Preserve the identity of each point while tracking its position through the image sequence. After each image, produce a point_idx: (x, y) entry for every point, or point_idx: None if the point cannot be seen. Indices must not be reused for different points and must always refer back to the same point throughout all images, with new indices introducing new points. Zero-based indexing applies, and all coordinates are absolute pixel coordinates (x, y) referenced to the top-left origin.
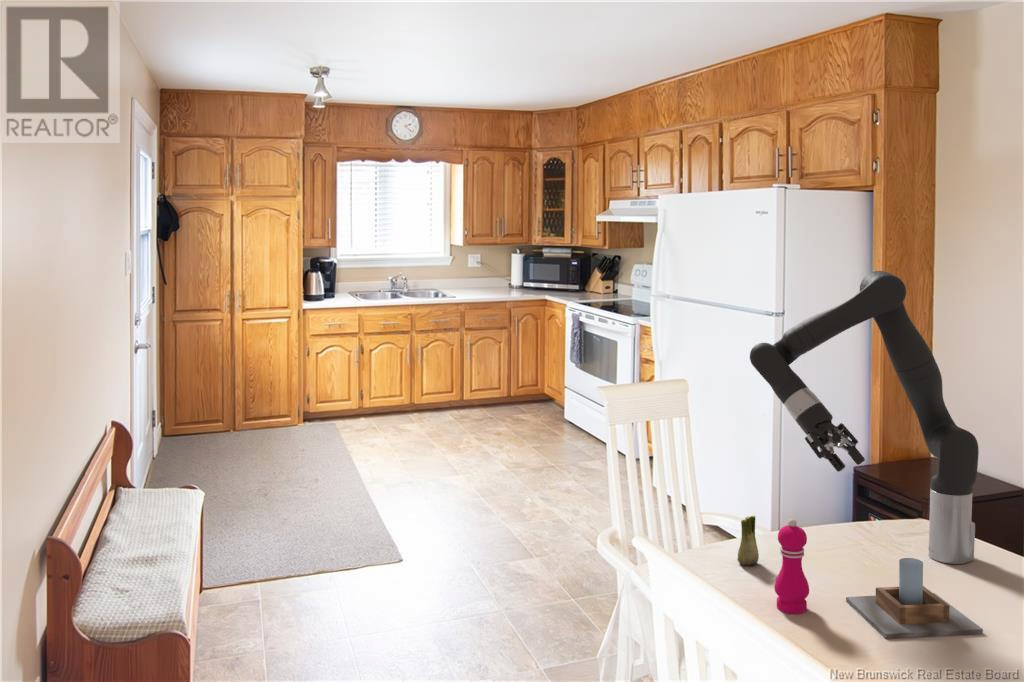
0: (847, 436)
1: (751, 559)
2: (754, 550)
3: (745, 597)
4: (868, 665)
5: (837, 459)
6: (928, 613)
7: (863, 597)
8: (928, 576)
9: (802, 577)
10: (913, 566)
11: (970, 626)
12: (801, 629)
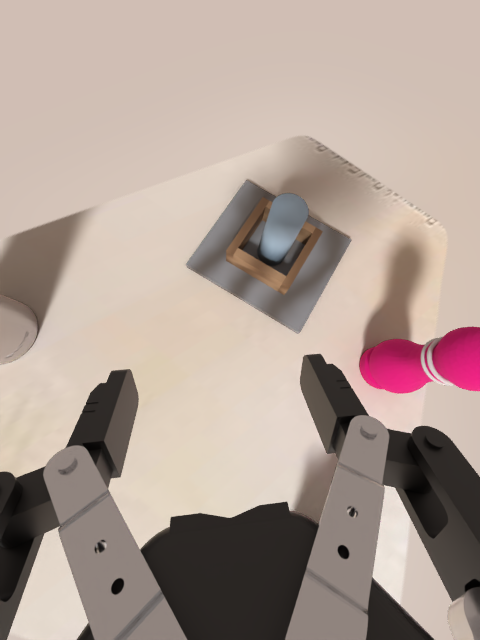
0: (60, 536)
1: None
2: None
3: None
4: (415, 222)
5: (338, 388)
6: None
7: (281, 316)
8: (115, 310)
9: (410, 342)
10: (302, 200)
11: (250, 191)
12: (415, 317)
